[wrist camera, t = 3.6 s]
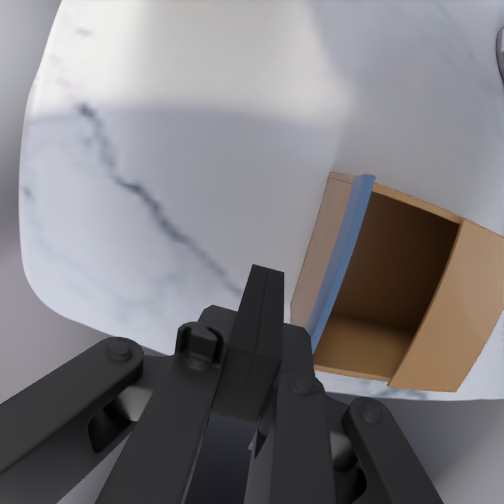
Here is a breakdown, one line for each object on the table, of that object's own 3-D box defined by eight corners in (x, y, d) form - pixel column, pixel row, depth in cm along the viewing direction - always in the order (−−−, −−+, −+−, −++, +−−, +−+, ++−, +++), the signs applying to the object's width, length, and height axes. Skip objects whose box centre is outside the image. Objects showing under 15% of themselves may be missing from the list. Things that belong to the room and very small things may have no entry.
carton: (290, 304, 29) (291, 371, 19) (330, 171, 25) (358, 176, 15) (418, 333, 28) (455, 392, 18) (463, 221, 24) (527, 249, 14)
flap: (293, 371, 19) (288, 369, 19) (360, 178, 15) (354, 176, 15) (265, 452, 12) (259, 450, 12) (375, 176, 8) (366, 173, 8)
